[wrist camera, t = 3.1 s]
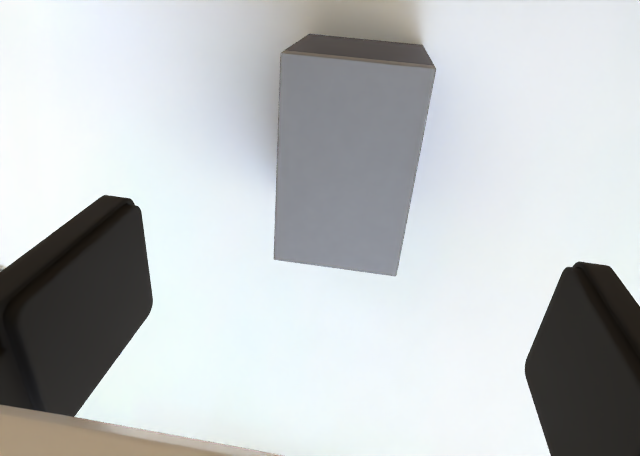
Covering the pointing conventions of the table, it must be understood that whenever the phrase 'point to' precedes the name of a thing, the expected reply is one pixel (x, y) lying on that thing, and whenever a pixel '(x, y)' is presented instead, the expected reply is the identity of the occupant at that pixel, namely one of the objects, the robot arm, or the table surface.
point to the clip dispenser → (348, 150)
